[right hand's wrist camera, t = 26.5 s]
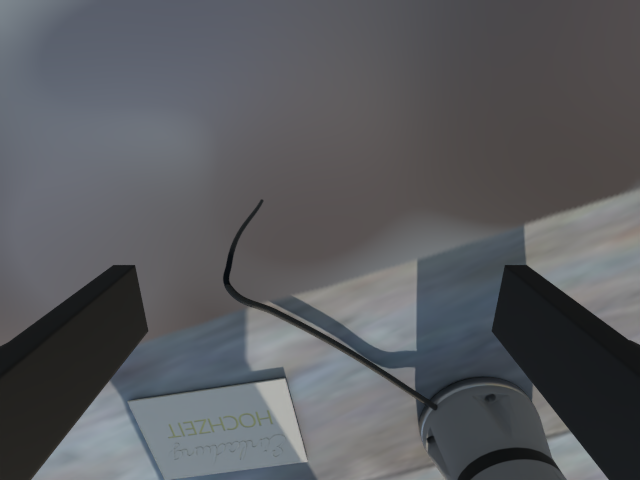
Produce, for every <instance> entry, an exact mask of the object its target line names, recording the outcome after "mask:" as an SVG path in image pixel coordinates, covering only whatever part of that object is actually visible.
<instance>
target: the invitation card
mask: <svg viewBox="0 0 640 480" xmlns="http://www.w3.org/2000/svg"><path fill="white" fill-rule="evenodd" d="M128 404H129V407H130V409H131V411H132V413H133V415H134V417H135V419H136V421H137V423H138V425H139V427H140V429H141V432H142V434H143V436H144V438H145V440H146V442H147V444H148V446H149V448H150V450H151V452H152V454H153V457H154V459H155V461H156V463H157V465H158V467H159V469H160V471H161V473H162V475H163V477H164V480H172V479H180V478H187V477H195V476H203V475H210V474H218V473H226V472H233V471H241V470H249V469H256V468H264V467H272V466H279V465H287V464H295V463H302V462H308V460H307V456H306V452H305V448H304V445H303V441H302V437H301V434H300V430H299V426H298V422H297V419H296V415H295V411H294V408H293V404H292V400H291V396H290V393H289V389H288V385H287V382H286V378H280V379H274V380H267V381H260V382H253V383H246V384H239V385H233V386H226V387H219V388H212V389H205V390H198V391H192V392H185V393H178V394H171V395H164V396H158V397H151V398H144V399H137V400H130V401H128Z"/></svg>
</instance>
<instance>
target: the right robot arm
mask: <svg viewBox="0 0 640 480" xmlns="http://www.w3.org/2000/svg"><path fill="white" fill-rule="evenodd" d="M262 203H263V200H262V199H261V200H260V202H259V203H258V205H257V206H256V208H255V209H254V210H253V212H252V213H251V214H250V215H249V217H248V218H247V219H246V221H245V222H244V223H243V224H242V226H241V227H240V229H239V231H238V232H237V234H236V236H235V238H234V240H233V242H232V244H231V247H230V250H229V253H228V258H227V262H226V267H225V271H224V274H223V283H224V286H225V288H226V290H227V291H228V293H229V294H230V295H231V296H232V297H233V298H235V299H236V300H237V301H239V302H241V303H243V304H245V305H247V306H250V307H253V308H256V309H259V310H262V311H265V312H267V313H270V314H272V315H274V316H276V317H278V318H280V319H282V320H284V321H286V322H288V323H290V324H292V325H294V326H296V327H298V328H300V329H302V330H304V331H306V332H308V333H310V334H312V335H313V336H315V337H317V338H319V339H321V340H323V341H324V342H326V343H328V344H330V345H332V346H333V347H335V348H337V349H339V350H340V351H342V352H344V353H345V354H347V355H349V356H350V357H352V358H354V359H355V360H357V361H359V362H360V363H362V364H364V365H365V366H367V367H368V368H370V369H371V370H373V371H375V372H376V373H378V374H379V375H381V376H382V377H384V378H386V379H387V380H389V381H390V382H392V383H393V384H395V385H396V386H398V387H399V388H401V389H402V390H404V391H405V392H407V393H408V394H410V395H411V396H413V397H414V398H416V399H417V400H419V401H421V402H422V403H424V404H425V405H426V406H425V408H424V410H423V412H422V414H421V417H420V421H419V432H420V436H421V439H422V442H423V445H424V448H425V450H426V452H427V454H428V455H429V457H430V459H431V460H432V461H433V463H434V464H435V465H436V467H437V468H438V470H439V471H440V472H441V474H442V475H443V477H444V478H445V479H446V480H566V478H565V477H564V475H563V474H562V472H561V471H560V469H559V468H558V466H557V465H556V463H555V462H554V460H553V459H552V456H551V453H550V450H549V446H548V443H547V440H546V436H545V433H544V430H543V426H542V423H541V420H540V417H539V414H538V412H537V410H536V408H535V406H534V404H533V403H532V402H531V400H530V399H529V398H528V396H527V395H526V394H525V392H524V391H523V390H521V389H520V388H519V387H518V386H516V385H514V384H512V383H510V382H508V381H505V380H502V379H498V378H490V377H479V378H471V379H466V380H463V381H459V382H457V383H454V384H452V385H450V386H448V387H446V388H444V389H443V390H441V391H440V392H438V393H437V394H436V395H435V396H434V397H433V398H432V399H431V400H428V399H427V398H425V397H424V396H422V395H421V394H419V393H417V392H416V391H414V390H413V389H411V388H410V387H408V386H407V385H405V384H404V383H402V382H401V381H399V380H398V379H396V378H395V377H393V376H392V375H390V374H389V373H387V372H386V371H384V370H382V369H381V368H379V367H378V366H376V365H375V364H373V363H372V362H370V361H368V360H367V359H365V358H364V357H362V356H360V355H359V354H357V353H356V352H354V351H352V350H351V349H349V348H347V347H346V346H344V345H342V344H340V343H339V342H337V341H335V340H333V339H332V338H330V337H328V336H326V335H325V334H323V333H321V332H319V331H317V330H315V329H314V328H312V327H310V326H308V325H306V324H304V323H302V322H300V321H298V320H296V319H294V318H292V317H290V316H288V315H286V314H284V313H282V312H280V311H278V310H276V309H274V308H272V307H270V306H267V305H264V304H261V303H258V302H255V301H252V300H250V299H247V298H245V297H243V296H242V295H240V294H239V293H238V292H237V291H235V289H234V288H233V287H232V286H231V284H230V281H229V276H230V272H231V268H232V262H233V256H234V252H235V249H236V246H237V243H238V240H239V238H240V236H241V234H242V232H243V231H244V229H245V228H246V226H247V225H248V223H249V222H250V221H251V219H252V218H253V217H254V215H255V214H256V213H257V211H258V210H259V208H260V207H261V205H262ZM147 332H148V327H147V322H146V318H145V313H144V308H143V303H142V298H141V293H140V288H139V283H138V278H137V273H136V268H135V265H113V266H112V267H110V268H109V269H108V270H106V271H105V272H103V273H102V274H101V275H99V276H98V277H97V278H95V279H94V280H93V281H91V282H90V283H89V284H87V285H86V286H84V287H83V288H82V289H80V290H79V291H78V292H76V293H75V294H73V295H72V296H71V297H69V298H68V299H67V300H65V301H64V302H63V303H61V304H60V305H59V306H57V307H56V308H54V309H53V310H52V311H50V312H49V313H48V314H46V315H45V316H44V317H42V318H41V319H40V320H38V321H37V322H35V323H34V324H33V325H31V326H30V327H29V328H27V329H26V330H25V331H23V332H22V333H20V334H19V335H18V336H16V337H15V338H14V339H12V340H11V341H10V342H8V343H6V344H4V345H2V346H0V480H31V479H32V478H33V477H34V475H35V474H36V473H37V472H38V470H39V469H40V468H41V466H42V465H43V464H44V463H45V461H46V460H47V459H48V458H49V456H50V455H51V454H52V453H53V451H54V450H55V449H56V447H57V446H58V445H59V444H60V442H61V441H62V440H63V439H64V437H65V436H66V435H67V433H68V432H69V431H70V430H71V428H72V427H73V426H74V425H75V423H76V422H77V421H78V420H79V418H80V417H81V416H82V414H83V413H84V412H85V411H86V409H87V408H88V407H89V406H90V404H91V403H92V402H93V401H94V399H95V398H96V397H97V395H98V394H99V393H100V392H101V390H102V389H103V388H104V387H105V385H106V384H107V383H108V382H109V380H110V379H111V378H112V376H113V375H114V374H115V373H116V371H117V370H118V369H119V368H120V366H121V365H122V364H123V363H124V361H125V360H126V359H127V357H128V356H129V355H130V354H131V352H132V351H133V350H134V349H135V347H136V346H137V345H138V344H139V342H140V341H141V340H142V338H143V337H144V336H145V335H146V333H147ZM492 332H493V333H494V335H495V336H496V337H497V338H498V340H499V341H500V342H501V344H502V345H503V346H504V347H505V349H506V350H507V351H508V352H509V354H510V355H511V356H512V357H513V359H514V360H515V361H516V363H517V364H518V365H519V366H520V368H521V369H522V370H523V371H524V373H525V374H526V375H527V376H528V378H529V379H530V380H531V382H532V383H533V384H534V385H535V387H536V388H537V389H538V390H539V392H540V393H541V394H542V395H543V397H544V398H545V399H546V401H547V402H548V403H549V404H550V406H551V407H552V408H553V409H554V411H555V412H556V413H557V414H558V416H559V417H560V418H561V420H562V421H563V422H564V423H565V425H566V426H567V427H568V428H569V430H570V431H571V432H572V433H573V435H574V436H575V437H576V439H577V440H578V441H579V442H580V444H581V445H582V446H583V447H584V449H585V450H586V451H587V453H588V454H589V455H590V456H591V458H592V459H593V460H594V461H595V463H596V464H597V465H598V466H599V468H600V469H601V470H602V472H603V473H604V474H605V475H606V477H607V478H608V479H609V480H640V345H639V344H637V343H635V342H633V341H631V340H628V339H626V338H625V337H624V336H622V335H621V334H620V333H618V332H617V331H616V330H614V329H613V328H611V327H610V326H609V325H607V324H606V323H605V322H603V321H602V320H601V319H599V318H598V317H596V316H595V315H594V314H592V313H591V312H590V311H588V310H587V309H586V308H584V307H583V306H581V305H580V304H579V303H577V302H576V301H575V300H573V299H572V298H571V297H569V296H568V295H567V294H565V293H564V292H562V291H561V290H560V289H558V288H557V287H556V286H554V285H553V284H552V283H550V282H549V281H547V280H546V279H545V278H543V277H542V276H541V275H539V274H538V273H537V272H535V271H534V270H532V269H531V268H530V267H528V266H527V265H505V268H504V273H503V278H502V283H501V288H500V293H499V298H498V303H497V308H496V313H495V318H494V322H493V327H492Z"/></svg>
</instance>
